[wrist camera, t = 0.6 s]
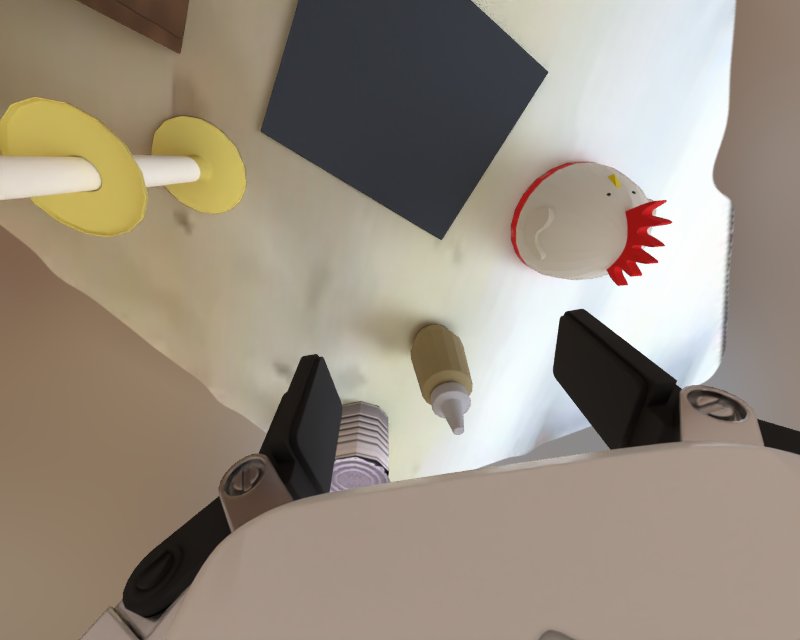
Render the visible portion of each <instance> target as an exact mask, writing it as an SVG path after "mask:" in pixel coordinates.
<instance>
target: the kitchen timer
mask: <svg viewBox="0 0 800 640" xmlns="http://www.w3.org/2000/svg"><path fill="white" fill-rule="evenodd" d="M666 201H667V200H662V201H653V200H651V199H647V198H646V196H645V194H644V192H643V191H642V189H641V188H640V187H639V186H637V185H636V184H635V183H634V182H633V181H631V180H630V179H629V178H628V177H626V176H625V175H624V174H622V173H621V172H619V171H618V170H616V169H614V168H611V167H608V166H604V165H601V164H598V163H593V162H578V163H567V164H564V165H561V166H559V167H556V168H554V169H551V170H550V171H548V172H547V173H545V174H544V175H543V176H541V177H540V178H538V179H537V180H536V181H535V182H534V183H533V184H532V185H531V186H530V187H529V189H528V190H527V191H526V192H525V193H524V194H523V196H522V198H521V200H520V202H519V204H518V205H517V207H516V209H515V212H514V216H513V220H512V224H511V241H512V244H513V247H514V250H515V253H516V254H517V255H518V257H519V258H520V259H521V260H522V262H523V263H525V264H526V265H527V266H529V267H531V268H532V269H534V270H535V271H537V272H539V273H541V274H544V275H548V276H552V277H557V278H562V279H570V280H582V279H593V278H598V277H602V276H605V275H608V274H609V275H610V277H611V278H612V280H613V281H614V282H615V283H616V284H617V285H618V286H620V285H628V284H627V281H626V279H625V278H624V276H623V273H622V269H623V270H624V271H625V272H626V273H627V274H628V275H629V276H641V275H642V273H641V271H640V269H639V268H638V266H637V265H636V262H639V263H644V264H650V263H658V261H657V260H656V259H655V258H654V257H652V256H651V255H650V254H648V253H647V252H645V251H644V250H643V249H644V248H645V246H648V247H659V246H665V245H664V244H663V243H662V242H660V241H659V240H658V239H656V238H654V237H653V236H651V235H650V234H651V230H652V227H653V226H659V225H667V224H671V223H672V221H670V220H667V219H664V218H660V217H656V216H655V214H656V208H657V207H658V206H660V205H662V204H664V203H665V202H666Z"/></svg>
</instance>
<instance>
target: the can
mask: <svg viewBox="0 0 800 640" xmlns="http://www.w3.org/2000/svg"><path fill="white" fill-rule="evenodd" d="M388 474H389V450H388V417H387V416H386V414H385V413H384V412H383V411H382V410H381V409H380V408H379V406H375V405H372V404H368V403H365V402H355V403H350V404H345V405H342V418H341V424H340V431H339V437H338V443H337V449H336V456H335V462H334V468H333V474H332V480H331V487H330V492H336V491H342V490H347V489H353V488H359V487H365V486H371V485H377V484H383V483H390V480H389V478H388ZM330 492H329V493H330Z"/></svg>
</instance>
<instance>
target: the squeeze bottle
mask: <svg viewBox="0 0 800 640" xmlns="http://www.w3.org/2000/svg"><path fill="white" fill-rule="evenodd" d="M411 360H412V363H413V366H414V370H415V373H416V376H417V379H418V383H419V386H420V389H421V393H422V396H423V397H424V399H425V400H426V402H427V403H429V404H430V405H432V410H433V411H434V413H435V414H436V415H438V416H439V417H441V418H446V420H447V422H448V423H449V425H450V427H451V429H452V431H453V433H454V434H456V435H460V434H462V433H463V432H464V420H463V414H464V413H465V412H467V411H468V409H469V407H470V401H471V400H470V397H469V395H470V394H471V392H472V380H471V376H470V372H469V368H468V364H467V360H466V356H465V352H464V348H463V344H462V343H461V341H460V339H459V337H457V336H456V335H455V334H453V333H452V332H451V331H449V330H448V329H447V328H445V327H444V326H441V325H437V324H435V325H428V326H426V327H424V328H422V329H421V330H420V331H419V332H418V334H417V336H416V339H415V341H414V343H413V346H412V349H411Z"/></svg>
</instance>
